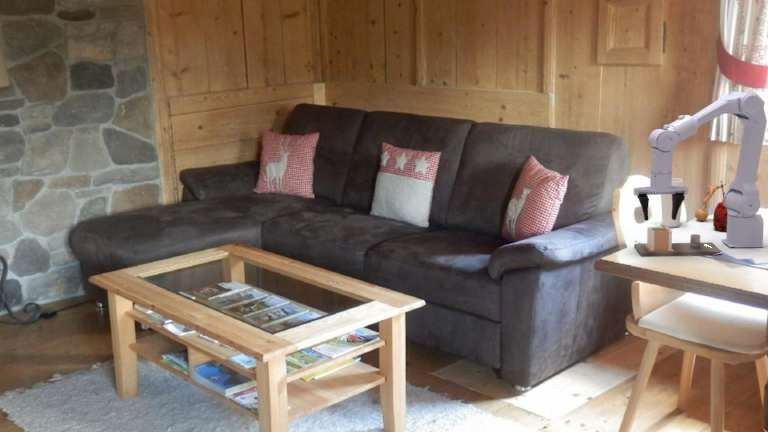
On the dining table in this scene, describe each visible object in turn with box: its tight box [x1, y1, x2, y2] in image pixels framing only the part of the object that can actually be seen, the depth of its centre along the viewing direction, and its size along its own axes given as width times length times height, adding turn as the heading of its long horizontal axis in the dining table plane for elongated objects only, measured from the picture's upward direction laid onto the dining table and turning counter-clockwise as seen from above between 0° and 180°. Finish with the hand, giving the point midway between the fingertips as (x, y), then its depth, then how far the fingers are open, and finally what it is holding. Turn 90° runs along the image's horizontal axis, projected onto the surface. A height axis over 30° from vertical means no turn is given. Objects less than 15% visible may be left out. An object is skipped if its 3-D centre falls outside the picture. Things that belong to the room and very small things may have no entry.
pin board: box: [633, 233, 723, 257], centre depth 243 cm, size 22×10×4 cm, turn 84°
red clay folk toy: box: [712, 180, 728, 232], centre depth 263 cm, size 8×7×15 cm
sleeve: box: [646, 226, 673, 251], centre depth 243 cm, size 6×6×6 cm
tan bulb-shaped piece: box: [694, 184, 717, 222], centre depth 275 cm, size 8×6×12 cm
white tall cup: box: [660, 177, 684, 228], centre depth 270 cm, size 7×7×15 cm
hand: (659, 219), depth 242 cm, fingers open, 7 cm apart
